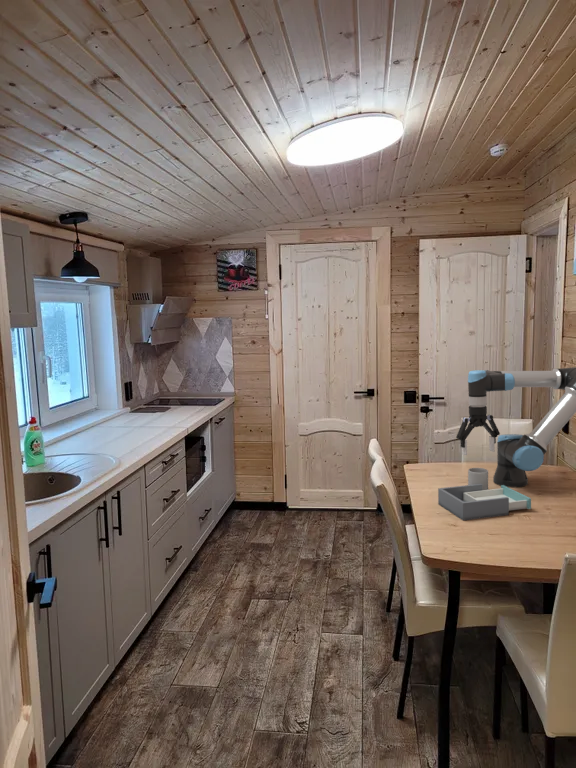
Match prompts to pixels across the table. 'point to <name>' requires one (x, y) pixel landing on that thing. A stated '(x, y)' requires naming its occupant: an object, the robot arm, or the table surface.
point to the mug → (478, 477)
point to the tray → (514, 497)
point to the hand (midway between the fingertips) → (478, 452)
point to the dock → (471, 503)
